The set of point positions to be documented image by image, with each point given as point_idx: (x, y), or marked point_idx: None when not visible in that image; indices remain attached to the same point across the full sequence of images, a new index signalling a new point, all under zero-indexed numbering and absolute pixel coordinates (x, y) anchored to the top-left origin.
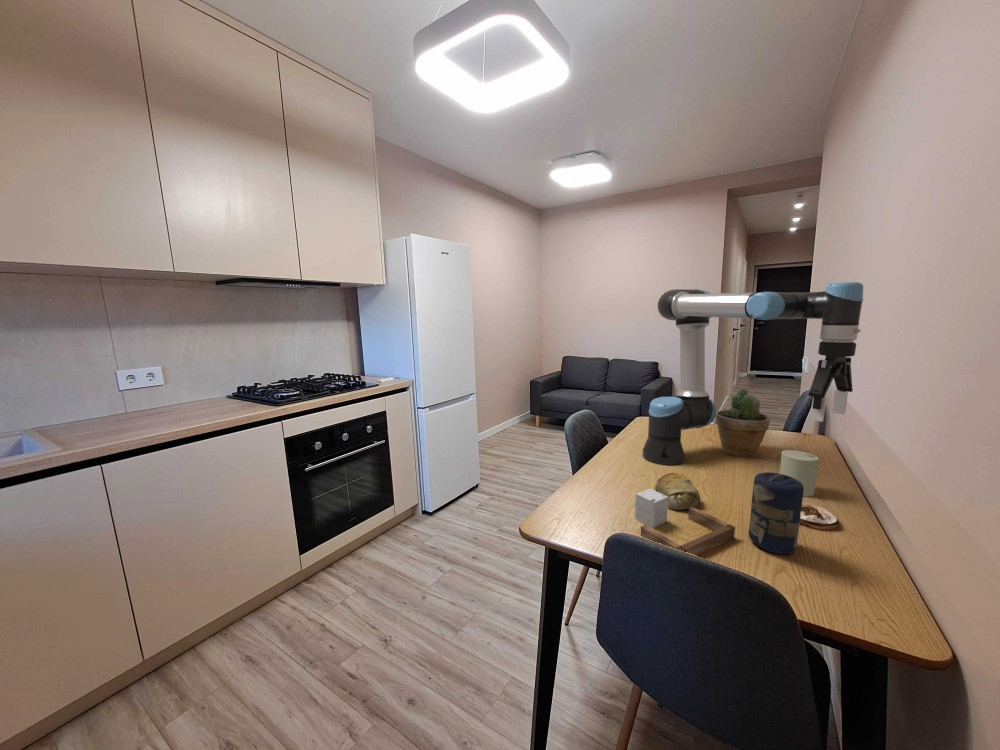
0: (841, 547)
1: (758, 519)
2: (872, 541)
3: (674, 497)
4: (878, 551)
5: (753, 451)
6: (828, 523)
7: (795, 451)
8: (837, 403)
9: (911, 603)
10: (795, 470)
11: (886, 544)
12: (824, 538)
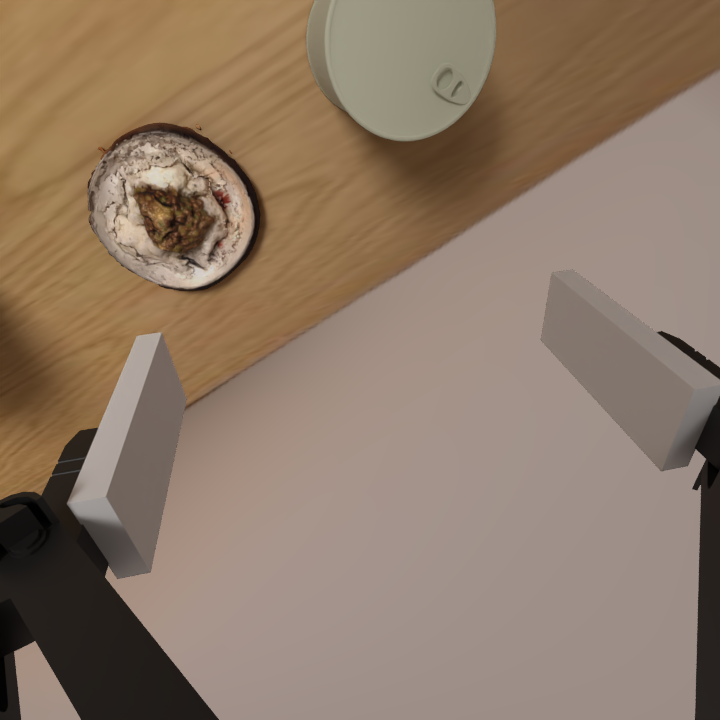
0: (111, 336)
1: None
2: (223, 345)
3: None
4: (187, 371)
5: None
6: (169, 280)
7: None
8: (594, 342)
9: None
10: (324, 74)
11: (241, 362)
12: (107, 298)
